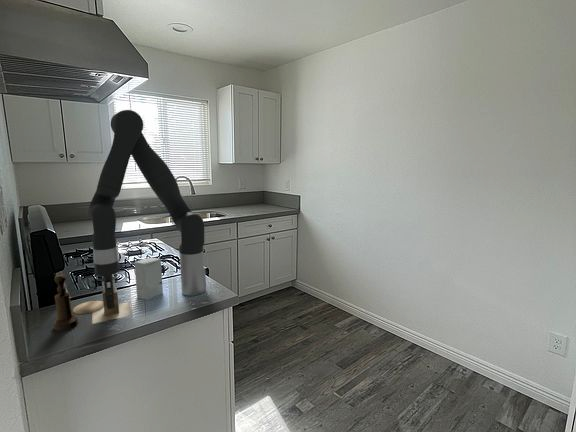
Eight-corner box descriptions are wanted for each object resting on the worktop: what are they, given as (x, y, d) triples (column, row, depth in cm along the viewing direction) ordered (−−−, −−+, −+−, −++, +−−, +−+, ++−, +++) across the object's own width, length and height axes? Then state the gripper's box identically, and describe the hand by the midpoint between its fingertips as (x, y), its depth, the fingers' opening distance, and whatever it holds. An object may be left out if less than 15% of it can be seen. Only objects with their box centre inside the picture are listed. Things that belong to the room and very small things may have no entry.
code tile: (129, 302, 123) (128, 301, 123) (131, 315, 113) (131, 315, 113) (92, 309, 117) (92, 309, 117) (92, 324, 107) (92, 323, 107)
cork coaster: (104, 300, 125) (104, 298, 125) (105, 310, 117) (105, 309, 117) (74, 305, 120) (73, 304, 120) (72, 317, 112) (72, 315, 112)
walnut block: (118, 308, 118) (116, 287, 117) (119, 313, 115) (117, 292, 113) (104, 310, 116) (102, 290, 115) (104, 316, 112) (102, 294, 111)
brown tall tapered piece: (50, 327, 105) (43, 275, 102) (72, 319, 110) (66, 269, 107) (59, 333, 102) (52, 279, 98) (81, 325, 107) (75, 273, 104)
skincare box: (146, 300, 125) (143, 264, 122) (136, 297, 128) (133, 261, 125) (164, 293, 132) (161, 258, 129) (154, 290, 135) (151, 256, 132)
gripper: (119, 264, 108) (123, 309, 110) (117, 253, 120) (121, 294, 123) (93, 267, 104) (98, 314, 107) (93, 256, 116) (98, 298, 119)
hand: (110, 303), depth 115 cm, fingers open, 8 cm apart
